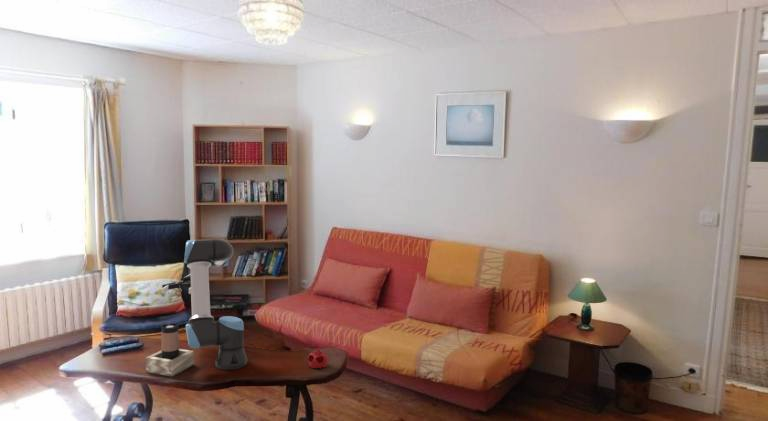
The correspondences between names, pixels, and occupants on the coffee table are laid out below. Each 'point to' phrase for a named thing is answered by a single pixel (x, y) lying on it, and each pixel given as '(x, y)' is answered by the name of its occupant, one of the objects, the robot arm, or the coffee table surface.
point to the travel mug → (170, 341)
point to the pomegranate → (317, 359)
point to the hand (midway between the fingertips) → (176, 291)
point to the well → (169, 363)
